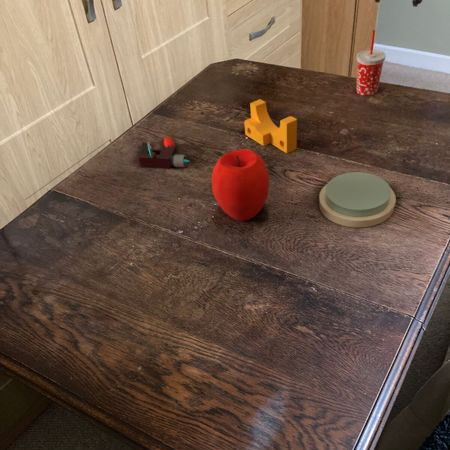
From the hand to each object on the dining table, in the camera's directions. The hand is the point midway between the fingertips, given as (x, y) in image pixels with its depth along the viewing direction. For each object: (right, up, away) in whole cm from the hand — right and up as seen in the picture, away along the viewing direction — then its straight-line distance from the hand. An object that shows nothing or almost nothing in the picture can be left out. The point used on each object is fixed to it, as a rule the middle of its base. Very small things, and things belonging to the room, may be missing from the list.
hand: (394, 2), depth 106 cm
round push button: (-14, -47, -19) cm, 53 cm away
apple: (-33, -49, -18) cm, 62 cm away
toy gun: (-49, -34, -2) cm, 60 cm away
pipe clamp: (-27, -31, -2) cm, 41 cm away
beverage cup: (-4, -17, +7) cm, 19 cm away
